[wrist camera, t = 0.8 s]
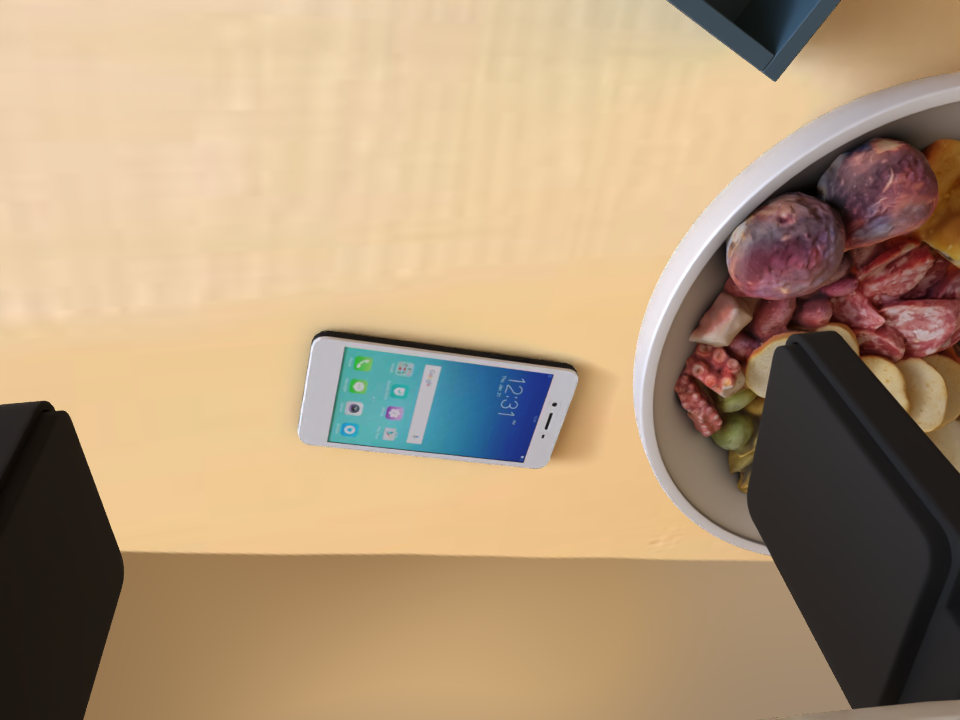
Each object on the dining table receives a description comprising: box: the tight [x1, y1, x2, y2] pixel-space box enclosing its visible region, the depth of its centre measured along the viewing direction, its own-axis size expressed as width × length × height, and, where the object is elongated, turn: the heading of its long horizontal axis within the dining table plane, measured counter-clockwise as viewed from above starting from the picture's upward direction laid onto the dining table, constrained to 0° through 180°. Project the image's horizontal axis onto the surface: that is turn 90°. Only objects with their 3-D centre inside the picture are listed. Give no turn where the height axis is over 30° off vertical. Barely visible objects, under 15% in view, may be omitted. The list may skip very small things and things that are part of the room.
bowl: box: [633, 72, 960, 556], centre depth 47 cm, size 30×30×8 cm
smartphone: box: [298, 331, 578, 469], centre depth 49 cm, size 7×1×15 cm
